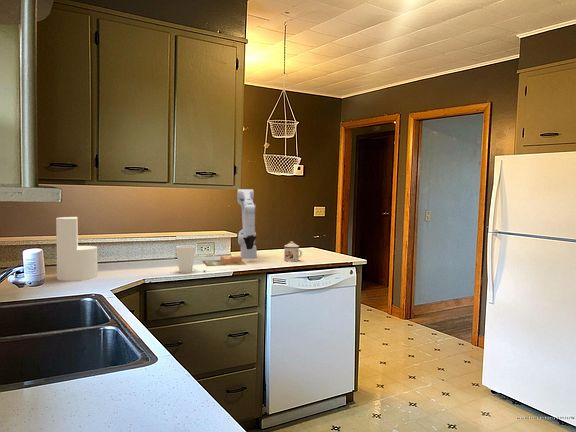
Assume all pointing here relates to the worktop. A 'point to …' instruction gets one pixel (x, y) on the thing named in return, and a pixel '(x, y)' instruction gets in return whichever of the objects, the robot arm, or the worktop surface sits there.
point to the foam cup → (185, 258)
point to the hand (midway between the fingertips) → (249, 249)
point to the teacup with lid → (292, 252)
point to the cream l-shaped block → (73, 253)
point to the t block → (231, 259)
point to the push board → (220, 263)
